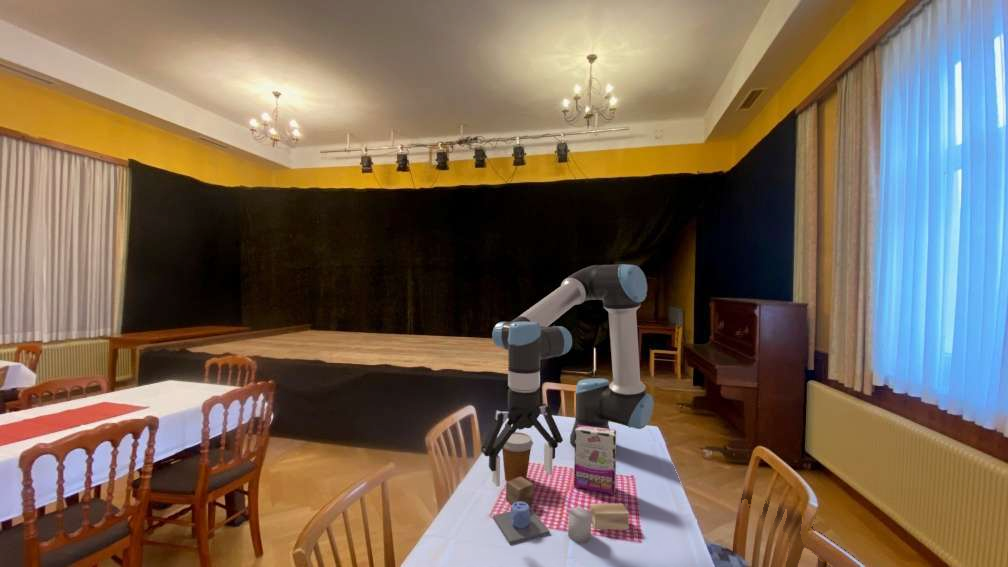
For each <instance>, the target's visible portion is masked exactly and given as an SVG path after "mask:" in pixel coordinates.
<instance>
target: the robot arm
mask: <svg viewBox="0 0 1008 567" xmlns="http://www.w3.org/2000/svg"><path fill="white" fill-rule="evenodd" d="M647 292H648V283H647V277H646V275H645V272H644V271H643V270H642V269H641V268H640V267H639V266H638V265H634V264H624V263H621V264H620V263H619V264H601V265H600V264H596V265H595V264H594V265H590V266H587V267H585V268H582V269H579V270H578V271H576V272H574V273H572V274H570V275H569V276H568V277H566V278H565V279H563V281H562V282H561V284H560V286H559V287H558V288H556V289H555V290H554V291H551V293H550V294H548V295H547V296H545V297H544V298H542V299H541V300H539V301H538V302H537V303H535V304H534V305H532V306H531V307H529V309H527V310H526V311H524V312H522V314H520V315H519V316H517V317H516V318H514V319H513V320H511V321H500V322H498V323H496V324H495V326H494V327H493V330H492V333H491V334H492V341H493V344H494V345H495V346H496V348H497V347H498V348H501V349H504V350H505V351H507V354H508V356H507V357H508V360H507V361H508V362H507V363H508V364H507V365H508V369H507V370H508V371H507V386H508V387H509V388H508V389H507V410H506V411H500V410H499V409H496V410H495V411H494V416H493V418H494V419H493V422H492V424H491V426H490V428H489V430H488V433H487V435H486V437H485V440H484V441H483V443H482V447H480V451H481V452H482V454H483V455H484V456H485V457H488V467H489V470H490V471H491V472H492V482H493V484H494V486H495V487H496V488H497V487H500V486H501V457H500V456H499V454H500V452H501V450H502V448H503V446H504V445H505V444H506V442H507V441H508V439H509V438H510V436H511V435H512V434H513V433H515V432H517V430H519V431H520V430H524V429H532V427H534V428H535V429H536V430H537V431H538V432H539V434H540V435H541V436H542V437H543V438H544V440H545V441H546V442H545V443H544V445H543V448H544V450H543V453H544V454H543V470H544V471H545V473H546V474H548V476H553V460H555V458H556V449H557V448H558V446H559V443H560V444H561V443H562V442H563V440H564V439H563V437H562V435H561V433H560V432H561V431H560V430H559V427H558V426H557V424H556V421H555V419H554V417H553V412H552V407H551V406H549V405H548V404H546V403H543V404H542V405H541V406H540V402H541V401H540V400H541V399H540V398H541V396H540V395H541V394H540V393H541V391H540V387H541V361H542V360H546V359H551V358H554V357H555V358H556V357H557V358H558V357H560V356H563V355H565V354H567V353H569V351H570V350H571V348H572V346H573V337H572V334H571V332H570V331H569V330H568V329H567V328H566V327H564V326H559V325H557V326H556V325H552V326H550V325H551V324H552V323H554V322H555V321H556V320H558V319H559V318H560V317H562V315H564V314H565V313H566V312H567V311H569V310H570V309H571V308H573V306H575V305H580V304H582V303H584V302H586V301H591V300H599V301H602V305H603V309H605V311H607V313H608V324H609V325H608V327H609V338H610V352H611V366H612V367H611V368H612V379H613V380H612V381H611V382H610V380H608V379H606V378H586V379H585V378H584V379H580V380H579V381H578V382H577V383H576V386H575V387H576V388H575V421H574V424H573V427H572V429H571V433H570V435H569V444H570V445H571V446H572V447H573V448H575V429H576V428H577V425H584V426H591V427H599V428H606V429H611V428H610V425H609V422H612V423H614V424H619V425H623V426H625V427H628V428H633V429H637V430H641V429H644V428H645V427H646V426H647V425H648V424H649V422H650V420H651V417H652V416H653V415H652V414H653V411H654V403H655V401H654V397H653V395H651V394H650V393H647V391H646V390H647V389H646V384H644V383H643V382H642V381H641V373H640V372H641V371H640V370H641V369H640V356H639V340H638V339H639V338H638V324H637V323H638V321H637V311H638V309H640V307H641V306H642V304H641V302H644V301H645V299H646V298H647ZM540 415H542V416H543V418H544V419H545V422H546V424H547V427H548V429H549V431H550V433H551V434H550V433H549V432H548V431H547V430H546V428H544V426H543V425H542V423H541V422H540V421H539V420H538V418H539V417H540ZM506 419H508V420H507V421H506ZM505 421H506V423H505V424H504V428H503V429H502V427H503V423H504V422H505ZM501 429H502V430H501ZM500 431H501V432H500ZM551 435H552V436H551Z"/></svg>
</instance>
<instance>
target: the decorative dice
mask: <svg viewBox="0 0 1008 567" xmlns="http://www.w3.org/2000/svg"><path fill="white" fill-rule="evenodd" d="M529 507H530V505H528V504H527V503H525V502H515V503H514V504H513V505H511V507H510V511H511V522H512V525H513V526H514V527H516V528H525V527H527V526H528V525H529V524H530V508H531V507H530V508H529Z"/></svg>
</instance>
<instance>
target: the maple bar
mask: <svg viewBox="0 0 1008 567" xmlns="http://www.w3.org/2000/svg"><path fill="white" fill-rule="evenodd" d="M589 512H590V513H591V526H592V528H593V529H595V530H594V531H598V530H597V529H615V530H614V531H618V530H617V529H623V530H624V531H627V530H628V531H629V526H630V525H629V521H630V520H629V519H630V518H629V517H630V516H629V515H630V513H629V511H628V510H627V509H626V506H625V505H624V504H623V503H590V504H589ZM623 530H622V531H623Z"/></svg>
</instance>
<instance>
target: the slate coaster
mask: <svg viewBox="0 0 1008 567" xmlns="http://www.w3.org/2000/svg"><path fill="white" fill-rule="evenodd" d="M529 508H530V524H529V525H528V526H527V527H525V528H516V527H514V526H513V525H512V522H511V510H510V511H505V512H503V513H499V514H493V515H492V519H493V521H494V522H495V524H496V526H497V527H498V528H499V530H500V532H501V533H502V534H503V536H504V538H505V539H506V541H507V543H508V544H509V545H513V544H516V543H520V542H523V541H528V540H531V539H535V538H539V537H542V536H546V535H550V533H551V531H550V530H549V528H548V527H547V526H546V525H545V523H544V522H543V521H542V520H541V518H540V517H539V516H538V515H537V514H536V512H535V511H534V510H533V509H532V507H531V506H529Z"/></svg>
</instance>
